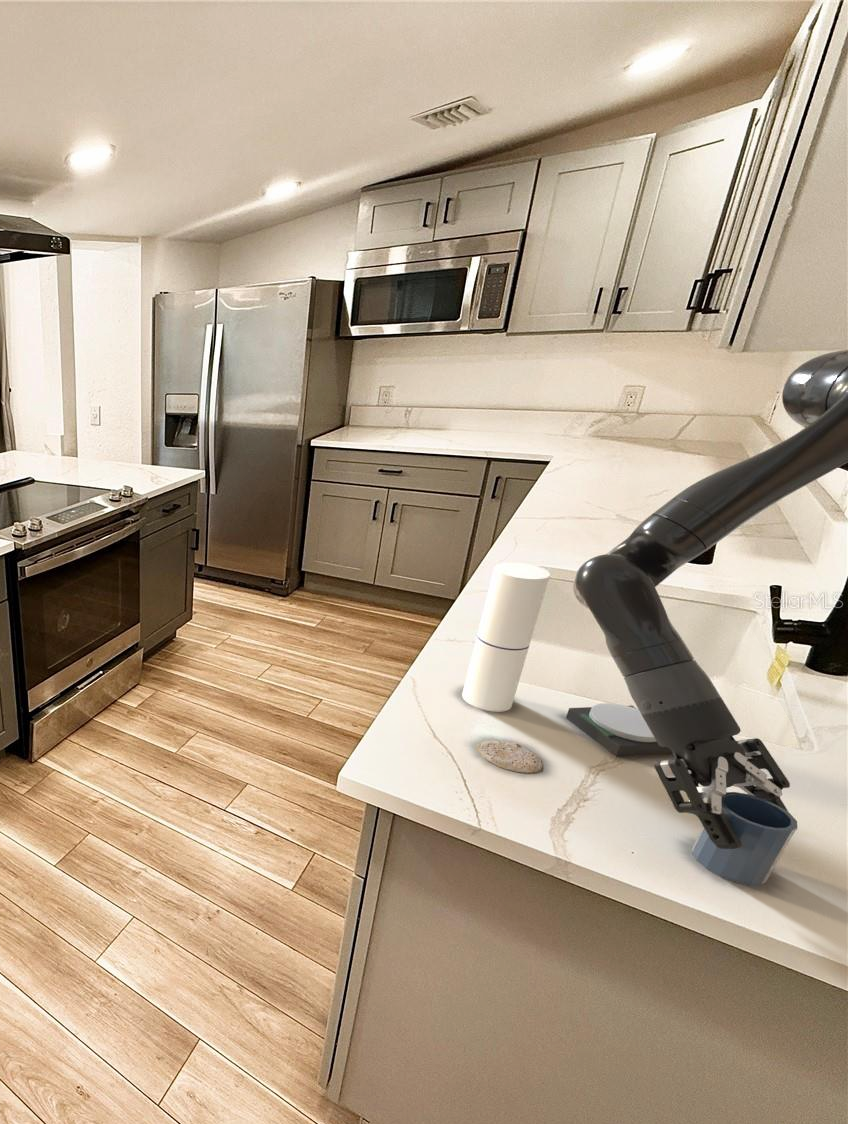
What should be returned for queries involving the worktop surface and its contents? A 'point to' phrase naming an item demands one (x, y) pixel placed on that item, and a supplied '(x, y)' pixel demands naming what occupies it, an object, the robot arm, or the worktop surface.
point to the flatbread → (510, 756)
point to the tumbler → (748, 840)
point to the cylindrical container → (504, 635)
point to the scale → (617, 729)
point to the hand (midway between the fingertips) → (758, 839)
